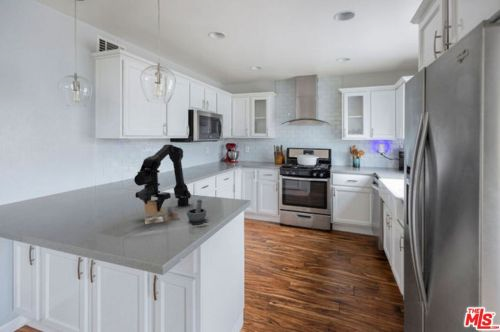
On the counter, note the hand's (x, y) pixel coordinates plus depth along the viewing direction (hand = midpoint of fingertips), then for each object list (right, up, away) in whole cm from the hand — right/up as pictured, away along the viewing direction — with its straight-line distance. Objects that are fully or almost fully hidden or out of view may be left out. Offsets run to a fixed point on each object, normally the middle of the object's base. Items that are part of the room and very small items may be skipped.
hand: (153, 211), depth 136 cm
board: (+3, -6, +4) cm, 8 cm away
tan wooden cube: (0, -1, 0) cm, 1 cm away
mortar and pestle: (+23, -7, 0) cm, 24 cm away
